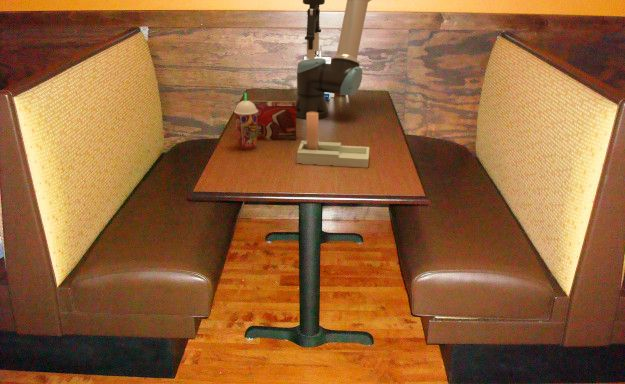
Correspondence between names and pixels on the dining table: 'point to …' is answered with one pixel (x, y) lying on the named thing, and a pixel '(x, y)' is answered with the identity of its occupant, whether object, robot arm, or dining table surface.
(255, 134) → the smoothie
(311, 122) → the peg
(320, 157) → the slot board
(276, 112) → the ice cream box
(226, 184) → the dining table surface
